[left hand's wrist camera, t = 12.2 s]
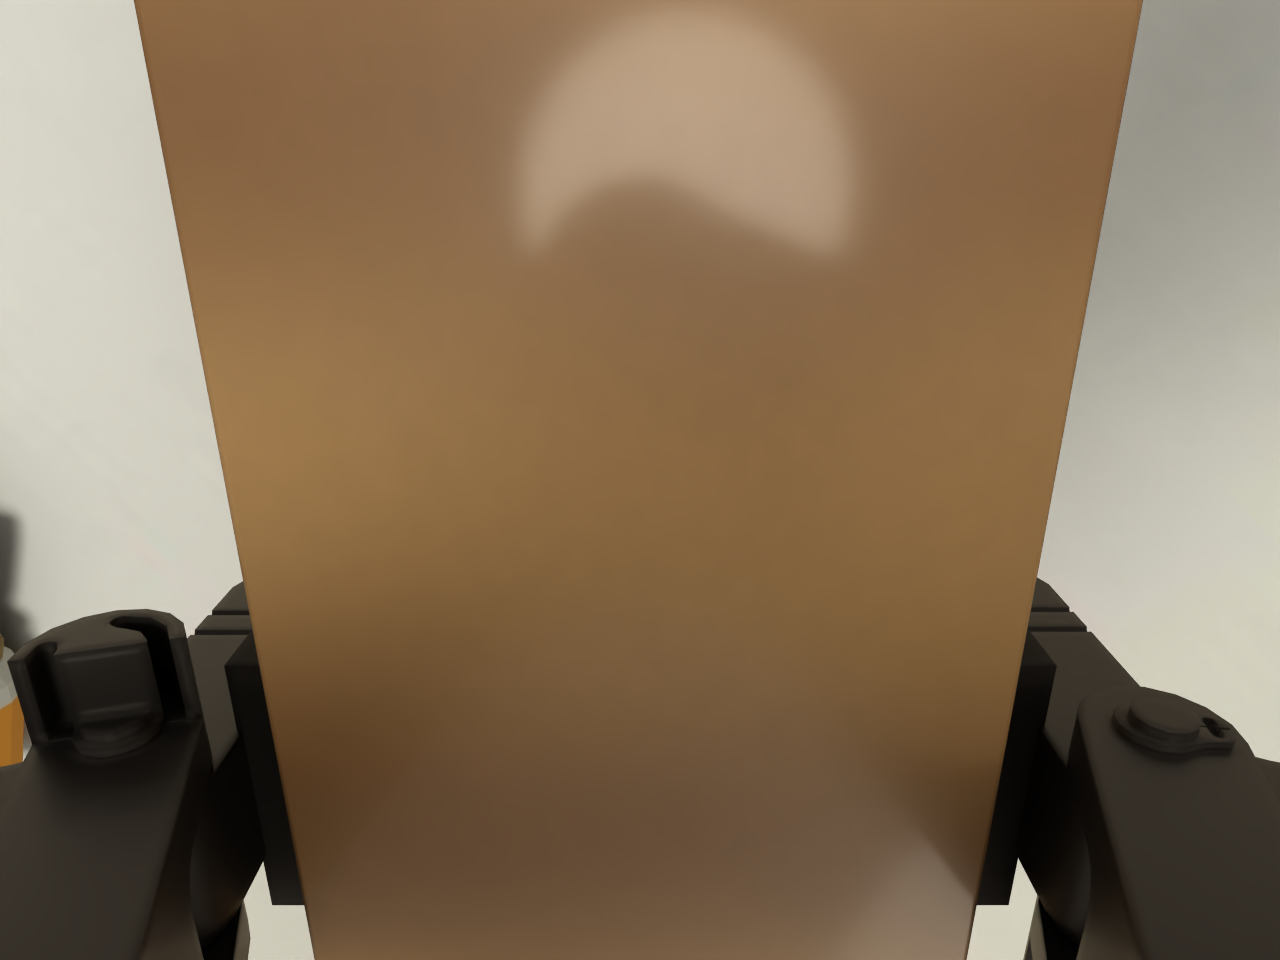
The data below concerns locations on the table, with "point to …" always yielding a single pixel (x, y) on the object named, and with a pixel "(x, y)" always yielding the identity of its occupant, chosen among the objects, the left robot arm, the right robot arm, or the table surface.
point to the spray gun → (9, 713)
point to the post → (639, 445)
